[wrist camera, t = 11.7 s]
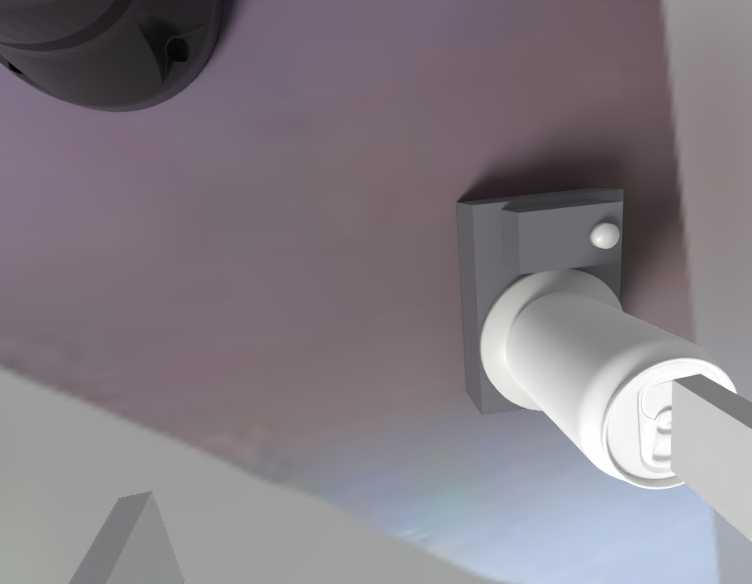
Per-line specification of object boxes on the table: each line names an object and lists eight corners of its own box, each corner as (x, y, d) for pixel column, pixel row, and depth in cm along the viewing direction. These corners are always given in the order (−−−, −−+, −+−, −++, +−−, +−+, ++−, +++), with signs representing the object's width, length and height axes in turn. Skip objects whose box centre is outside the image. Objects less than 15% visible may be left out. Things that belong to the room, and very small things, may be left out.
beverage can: (608, 283, 34) (757, 338, 22) (605, 385, 36) (740, 485, 24) (500, 295, 33) (596, 359, 22) (502, 399, 35) (591, 509, 24)
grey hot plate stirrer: (456, 202, 36) (491, 209, 29) (592, 187, 37) (661, 190, 30) (466, 392, 40) (500, 441, 33) (589, 374, 41) (649, 418, 34)
